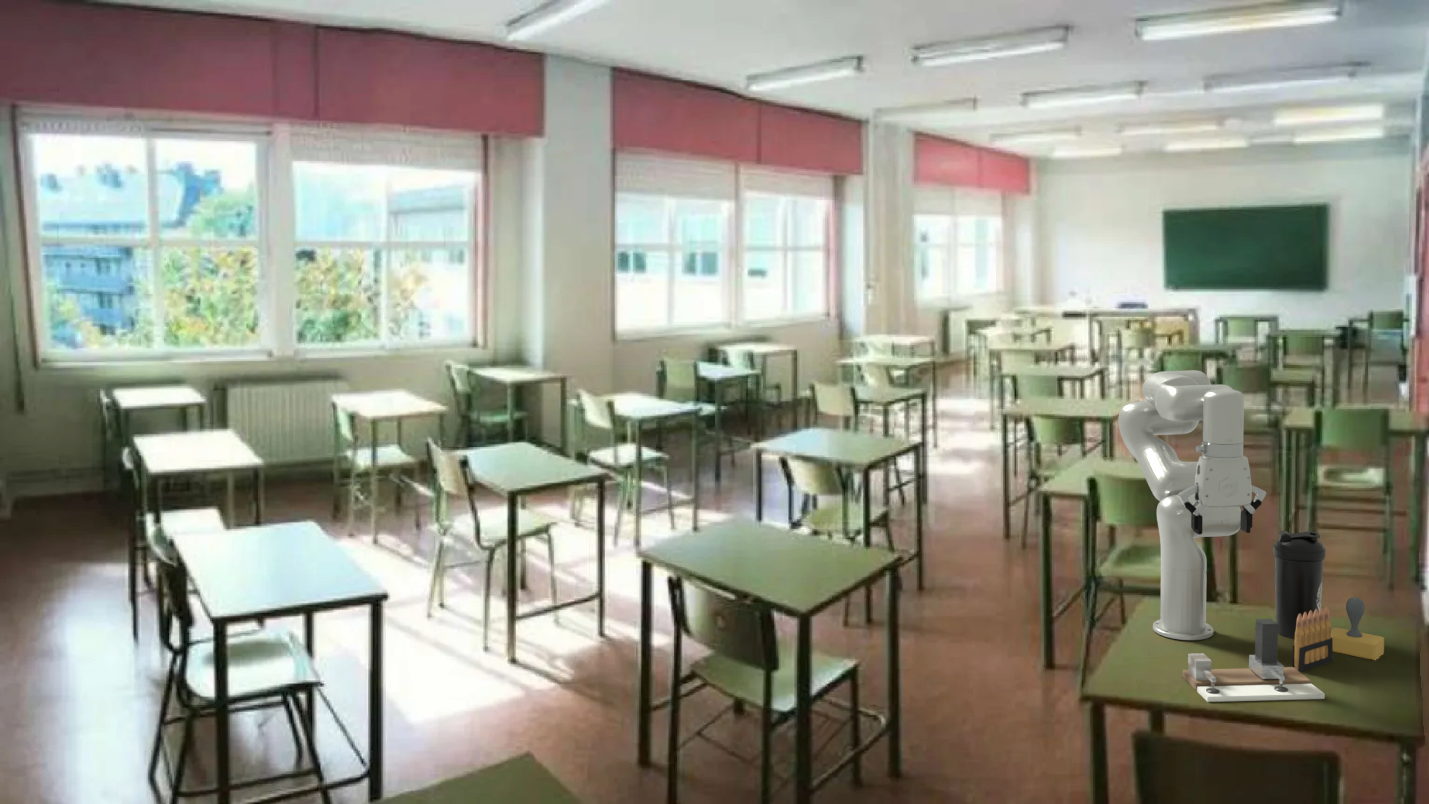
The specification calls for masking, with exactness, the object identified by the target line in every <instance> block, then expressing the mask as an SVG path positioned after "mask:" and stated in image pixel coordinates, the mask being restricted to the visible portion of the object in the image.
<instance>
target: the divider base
mask: <svg viewBox="0 0 1429 804" xmlns="http://www.w3.org/2000/svg"><path fill="white" fill-rule="evenodd" d="M1187 656H1188V657H1187V666H1188V667H1187V669H1183V670H1182V678H1183V679H1184V680H1185V681H1186V682H1187V683H1188V684H1189V685H1190V686H1191V687H1192V688H1193V689H1194V690H1195V691H1196V692H1197V687H1205V686H1211V687H1212V688H1214V687H1215V686H1243V685H1279V683H1280V680H1279V679H1262V678H1261V677H1259V676H1258V675H1257V674H1256V673H1255V672H1253V671H1252V670H1251V669H1250V668H1249V667H1245V668H1213V669H1212V660H1211V659H1210V657H1208V656H1207V655H1206V654H1205V653H1203V652H1202V653H1201V652H1200V653H1198V652H1197V653H1188V654H1187ZM1283 675H1284V676H1285V680H1283V684H1311V679H1309V678H1308V677H1307V676H1305V675H1304V674H1303V673H1302V672H1299V671H1298V670H1296V669H1295V668H1294V667H1292V666H1287V667H1286V666H1283Z"/></svg>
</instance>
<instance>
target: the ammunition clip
mask: <svg viewBox="0 0 1429 804" xmlns="http://www.w3.org/2000/svg"><path fill="white" fill-rule="evenodd" d="M1331 629H1332V624H1331V611H1330V608H1329V605H1326V606H1325V608H1323V607H1322V606H1321V607H1320V611H1319V613H1318V610H1317V609H1315V611H1314V614H1313V613H1312V611H1311V610H1310V612H1309V614H1308V616H1307V613H1306V612H1304V614H1303V618H1302V616H1301V614H1300V613H1299V615H1298V617H1297V622H1296V631H1295V639H1294V644H1293V645H1292V654H1291V655H1292V657H1291V667H1294V668H1295V669H1296V670H1298V671H1299V672H1300V673H1302V672H1305V671H1308V670H1311V669H1314V668H1317V667H1319V666H1323V665H1327V664H1328V663H1332V662H1333V661H1334V660H1333V656H1334V655H1333V653H1334V652H1333V638H1331Z"/></svg>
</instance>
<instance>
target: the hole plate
mask: <svg viewBox="0 0 1429 804" xmlns="http://www.w3.org/2000/svg"><path fill="white" fill-rule="evenodd" d="M1196 692H1197V693H1198V694H1199V695H1200V696H1201V697H1202V698H1203V699H1204V700H1205V701H1206V702H1207V703H1209V702H1210V703H1211V702H1212V703H1213V702H1214V703H1215V702H1247V701H1248V702H1251V701H1252V702H1253V701H1257V702H1258V701H1284V700H1285V701H1286V700H1287V701H1290V700H1322V699H1323V700H1324V699H1325V697H1326V696H1325V693H1324V692H1323V691H1322V690H1321V689H1320V688H1318V687H1316V686H1315V685H1314V684H1313V683H1310V684H1283V686H1280V685H1243V686H1215V687H1214V688H1212V687H1211V686H1205V687H1197V691H1196Z"/></svg>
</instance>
